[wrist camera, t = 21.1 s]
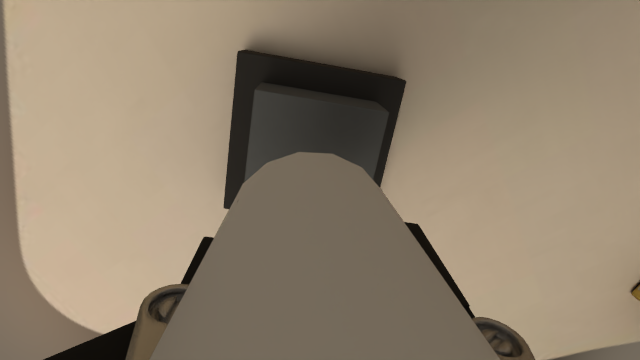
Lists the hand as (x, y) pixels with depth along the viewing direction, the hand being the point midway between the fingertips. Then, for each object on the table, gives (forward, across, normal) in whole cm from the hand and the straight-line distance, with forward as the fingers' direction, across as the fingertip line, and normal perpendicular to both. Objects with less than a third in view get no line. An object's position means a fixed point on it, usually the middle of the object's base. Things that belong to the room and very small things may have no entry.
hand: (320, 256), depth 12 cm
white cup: (+2, 0, 0) cm, 2 cm away
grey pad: (+12, 0, 0) cm, 12 cm away
